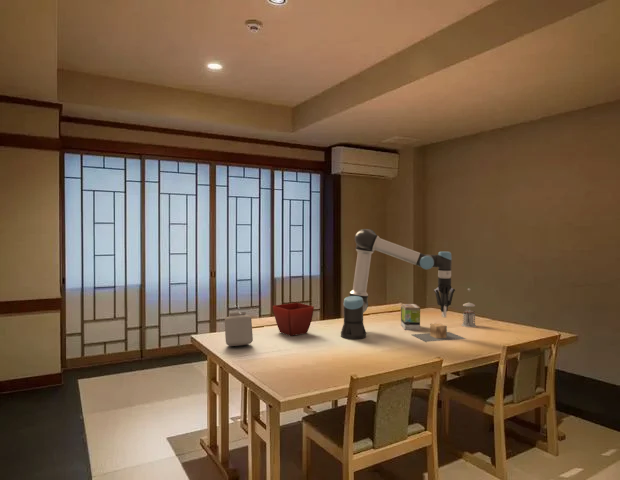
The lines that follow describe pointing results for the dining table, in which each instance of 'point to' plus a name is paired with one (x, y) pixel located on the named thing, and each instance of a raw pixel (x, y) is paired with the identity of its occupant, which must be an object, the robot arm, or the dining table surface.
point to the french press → (468, 316)
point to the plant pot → (293, 318)
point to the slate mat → (429, 338)
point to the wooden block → (438, 330)
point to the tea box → (410, 316)
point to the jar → (238, 329)
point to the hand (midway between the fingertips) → (444, 317)
